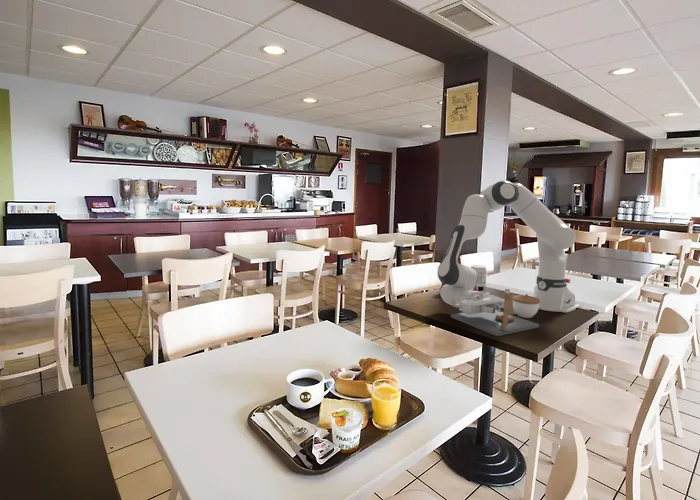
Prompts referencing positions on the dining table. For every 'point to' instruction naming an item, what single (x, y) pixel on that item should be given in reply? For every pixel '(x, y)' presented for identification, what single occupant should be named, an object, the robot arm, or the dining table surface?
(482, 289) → the supplement can
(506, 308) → the tuning key
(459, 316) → the board
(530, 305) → the lidded jar
